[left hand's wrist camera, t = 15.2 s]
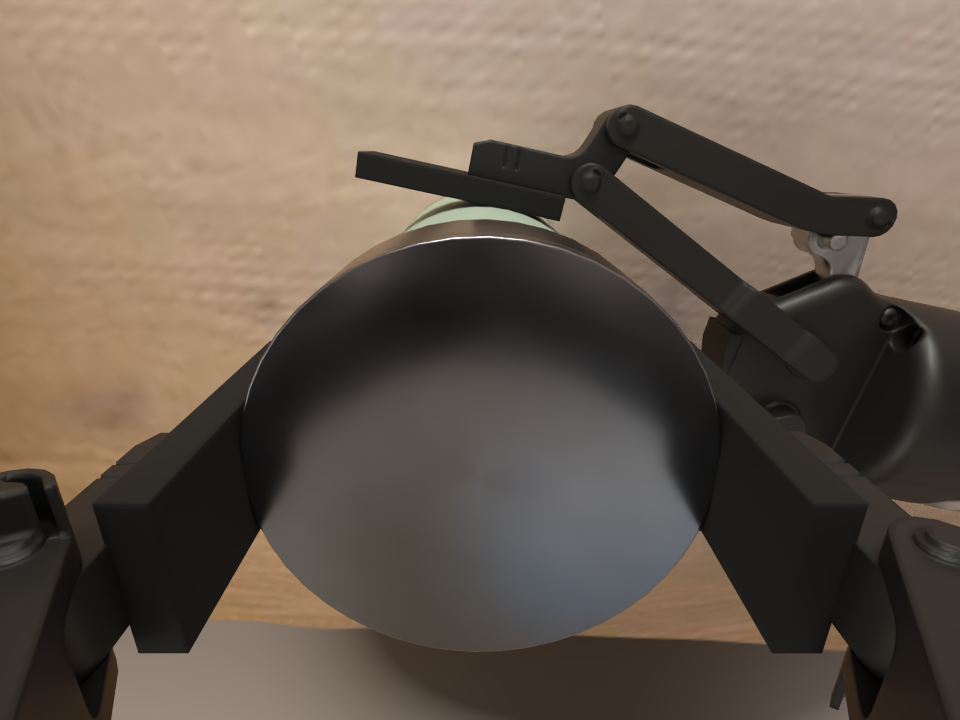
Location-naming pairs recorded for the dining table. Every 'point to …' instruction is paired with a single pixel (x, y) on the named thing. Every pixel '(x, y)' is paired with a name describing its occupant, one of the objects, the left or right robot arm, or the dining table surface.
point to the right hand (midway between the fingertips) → (350, 292)
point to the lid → (480, 438)
